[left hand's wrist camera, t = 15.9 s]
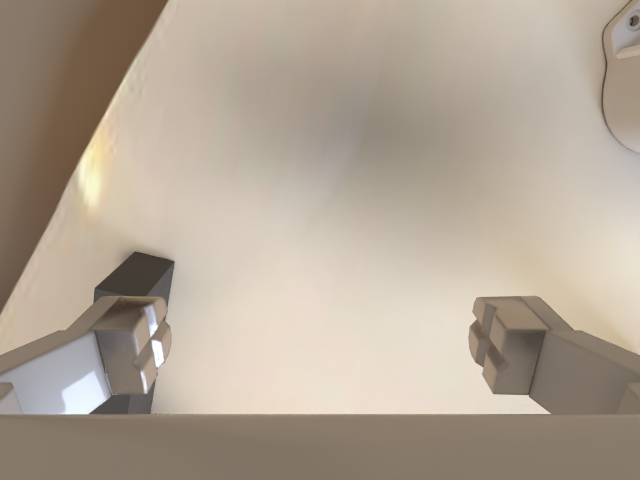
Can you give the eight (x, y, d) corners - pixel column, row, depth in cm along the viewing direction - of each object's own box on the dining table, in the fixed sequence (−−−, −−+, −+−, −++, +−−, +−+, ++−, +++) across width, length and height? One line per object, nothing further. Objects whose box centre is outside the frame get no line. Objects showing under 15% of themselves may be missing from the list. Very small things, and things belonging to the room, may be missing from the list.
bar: (134, 251, 44) (94, 288, 37) (174, 261, 45) (143, 299, 37) (114, 423, 54) (79, 482, 46) (147, 430, 55) (118, 489, 47)
